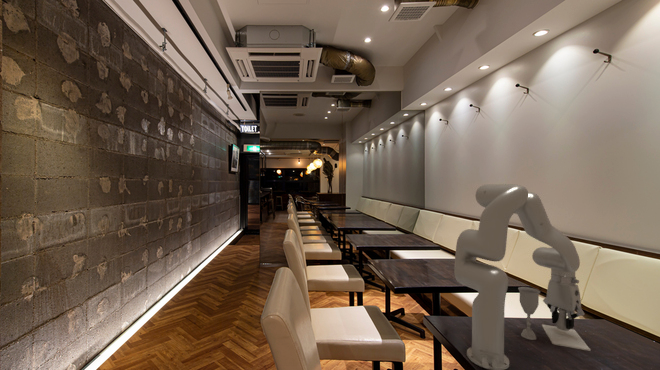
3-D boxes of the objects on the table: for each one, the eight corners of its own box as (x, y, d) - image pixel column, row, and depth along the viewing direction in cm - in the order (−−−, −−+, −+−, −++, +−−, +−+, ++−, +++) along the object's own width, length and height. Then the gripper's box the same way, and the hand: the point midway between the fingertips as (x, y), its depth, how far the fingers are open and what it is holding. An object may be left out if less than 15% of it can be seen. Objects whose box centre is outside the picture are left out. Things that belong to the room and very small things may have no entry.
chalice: (533, 332, 118) (533, 287, 118) (544, 341, 111) (544, 293, 111) (514, 331, 119) (514, 286, 119) (523, 340, 112) (523, 292, 112)
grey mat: (590, 351, 105) (590, 349, 105) (552, 344, 110) (552, 342, 110) (574, 330, 120) (574, 329, 120) (541, 325, 124) (541, 324, 124)
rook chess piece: (564, 331, 114) (564, 311, 114) (552, 326, 118) (552, 306, 118) (572, 330, 115) (573, 309, 115) (561, 325, 119) (561, 305, 119)
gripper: (594, 284, 110) (593, 333, 110) (546, 272, 126) (546, 315, 126) (581, 287, 107) (581, 337, 107) (534, 273, 123) (534, 318, 123)
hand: (562, 325), depth 117 cm, fingers closed on rook chess piece, 4 cm apart
